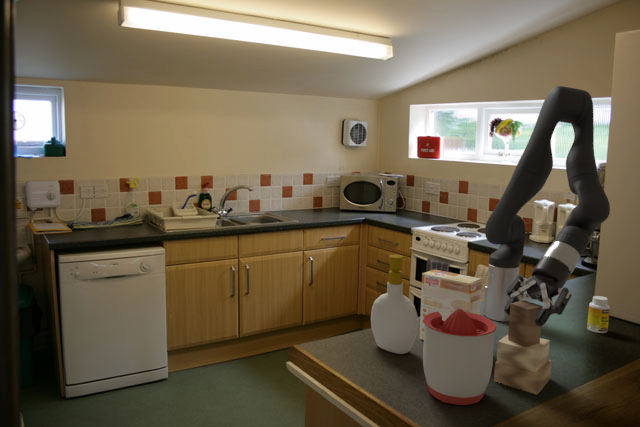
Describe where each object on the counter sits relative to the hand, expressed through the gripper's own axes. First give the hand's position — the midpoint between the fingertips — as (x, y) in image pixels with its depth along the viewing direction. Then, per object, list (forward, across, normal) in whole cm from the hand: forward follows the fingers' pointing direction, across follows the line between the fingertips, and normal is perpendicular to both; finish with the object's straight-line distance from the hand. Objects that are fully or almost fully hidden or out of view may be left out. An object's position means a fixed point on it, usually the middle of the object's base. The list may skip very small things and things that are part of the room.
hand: (521, 318), depth 124 cm
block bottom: (+10, 0, +13) cm, 16 cm away
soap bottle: (+20, -30, +2) cm, 36 cm away
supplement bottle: (-24, -10, +46) cm, 53 cm away
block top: (+6, 0, +9) cm, 11 cm away
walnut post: (+3, 0, +5) cm, 6 cm away
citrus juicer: (+23, -4, 0) cm, 23 cm away
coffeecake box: (+9, -26, +13) cm, 30 cm away
